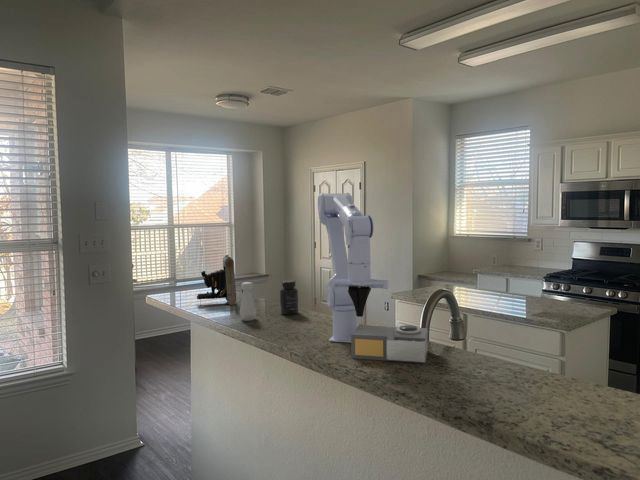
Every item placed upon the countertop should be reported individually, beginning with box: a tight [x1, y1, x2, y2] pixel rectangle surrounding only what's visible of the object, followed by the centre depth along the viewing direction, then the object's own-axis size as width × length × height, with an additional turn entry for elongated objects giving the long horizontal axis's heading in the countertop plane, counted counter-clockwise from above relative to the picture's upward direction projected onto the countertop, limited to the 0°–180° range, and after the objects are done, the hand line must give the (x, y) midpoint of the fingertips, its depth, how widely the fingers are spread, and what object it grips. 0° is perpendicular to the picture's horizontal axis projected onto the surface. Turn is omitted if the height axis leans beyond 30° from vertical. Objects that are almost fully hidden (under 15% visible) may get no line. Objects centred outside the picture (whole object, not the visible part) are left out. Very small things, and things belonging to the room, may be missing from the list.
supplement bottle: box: [279, 279, 300, 316], centre depth 170 cm, size 7×7×12 cm
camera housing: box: [350, 324, 429, 364], centre depth 118 cm, size 10×18×7 cm, turn 74°
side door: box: [387, 326, 426, 363], centre depth 111 cm, size 1×9×8 cm, turn 74°
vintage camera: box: [196, 254, 237, 306], centre depth 190 cm, size 10×16×20 cm, turn 107°
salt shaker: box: [239, 281, 257, 322], centre depth 161 cm, size 6×6×13 cm
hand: (360, 315), depth 119 cm, fingers closed
